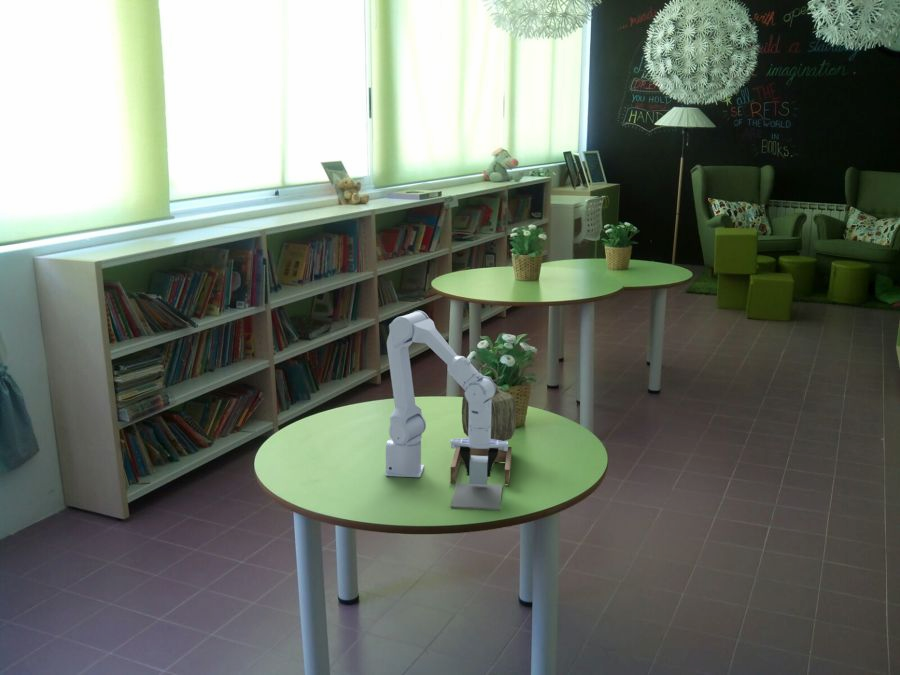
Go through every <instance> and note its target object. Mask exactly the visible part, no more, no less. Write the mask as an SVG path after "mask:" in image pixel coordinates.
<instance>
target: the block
mask: <svg viewBox="0 0 900 675" xmlns="http://www.w3.org/2000/svg"><path fill="white" fill-rule="evenodd" d="M487 471H488V456H472V455H471V458H470V469H469V478H468V479H469V480H468V481H469V482H468V484H480V485H487V484H488V479H489V477H487Z"/></svg>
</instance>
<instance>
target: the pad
mask: <svg viewBox="0 0 900 675" xmlns="http://www.w3.org/2000/svg"><path fill="white" fill-rule="evenodd" d="M502 493H503V484H488V483H487V485H480V484H469V483H466V482H463V483H462V482H455V489H454V492H453V496H452V500H451V505H450V508H451V509H461V510H462V509H463V510H464V509H465V510H481V509H486V511H500V510H501V501H502Z"/></svg>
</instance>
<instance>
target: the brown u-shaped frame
mask: <svg viewBox="0 0 900 675" xmlns="http://www.w3.org/2000/svg"><path fill="white" fill-rule="evenodd" d="M488 451H489V449H475V448H471V450H470V458H471V455H472V456H488ZM461 462H463V459H462V457H461V455H460V448H454V453H453V457H452V460H451V463H450V477H449V478H450V483H451V484H456V481H457V477H458V473H459V469H458V468H460V465H461ZM494 462H506V463H504V464H505V465H504V481H503V482H504V483H503V484H504V485H505V484H509V485H510V480H509V479H511V470H510V469H511V467H512V446H508V451H503V450H498V455H497V457H496V459H495V461H494ZM459 464H460V465H459Z"/></svg>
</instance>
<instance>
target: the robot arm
mask: <svg viewBox="0 0 900 675" xmlns="http://www.w3.org/2000/svg"><path fill="white" fill-rule="evenodd" d="M388 328H389V334H388V336H387V340H386V349H387V356H388V364H389V372H390V379H391V387H392V396H393V401H394V403H393V404H394V408H393V411H392V413H391V415H390V417H389V421H390V423H389V428H388V434H389V437H390V439H388V440H387V441H386V444H385V473H384V474H385V476H387V477H403V478H405V477H407V478H421V476H422V474H423V470H424V468H425V465H424V464H422V438H423V437H422V435H423V433H425V432H426V431H425V430H426V429H427V428H426V427H427V423H426V419H425V417H424V416H423V414H422V409H421V408H420V406H418V405H417V404H416V399H415V391H414V383H413V376H412V368H411V360H410V354H409V353H410V352H409V347H411V345H412V344H413V343H416V344H417V343H419V344H425V345H426V346H428V347H429V348H430V349H431V350H432V351H433V352H434V353H435V354H436V355H437V356H438V357H439V358H440V359H441V360H442V361H443V362H444V363H445V364H446V365H447V372H448V374H449V375H450V376H451V377H452V378H453V379H454V380H455V382H456V383H457V384H458V385H459V386H460V387H461V388H462V389H463V390H464V393H465V397H466V399H467V401H468V403H469V430H468V436H467V437H464V438H451V440H450V449H456V448H460V455H461V457H462V459H463V461H464V462H463V461H462V462H463V463H464V468H465V470H466V476H469V469H470V450H471V448H475V449H489V451H488V471H487V477H488V478H490V477H491V472H492V468H493V466H494V464H495V463H494V461H495V459H496V457H497V455H498V450H503V451H508V447H509V441H508V440H505V441H500V440H495V439H491V404H492V399H490V398H492V397H493V396H494V394H495V392H496V387H495V384H496V383H495V382H493V381H492V380H493V379H492V377H491V378H489V376H487V375H486V376H485V375H484V374H483V375H484V376H483V375H482V373H480V372H479V371H478V370H477V369H476V367H474V365H473V364H472V363H471V362H472V361H471V360H470V358H468V357H467V358H466V357H465V356H463V355H458V354H457V353H456V352H455V351H454V350H453V348H452V347H451V346H450V344H449V343H448V342H447V341H446V340H445V338H444V337H443V336H442V334H441V333H440V332H439V330H437V328H436V326H435V322H434V321H433V319H431V318H429V316H428V314H427V313H426V312H424V311H423V310H415V311H413V312H411V313H409V314H408V313H407V314H405V315H401V316H397V317H396V318H394V319H393V320H392V321H391V323H389V325H388ZM494 383H495V384H494ZM464 393H463V394H464ZM488 399H489V400H488Z"/></svg>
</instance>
